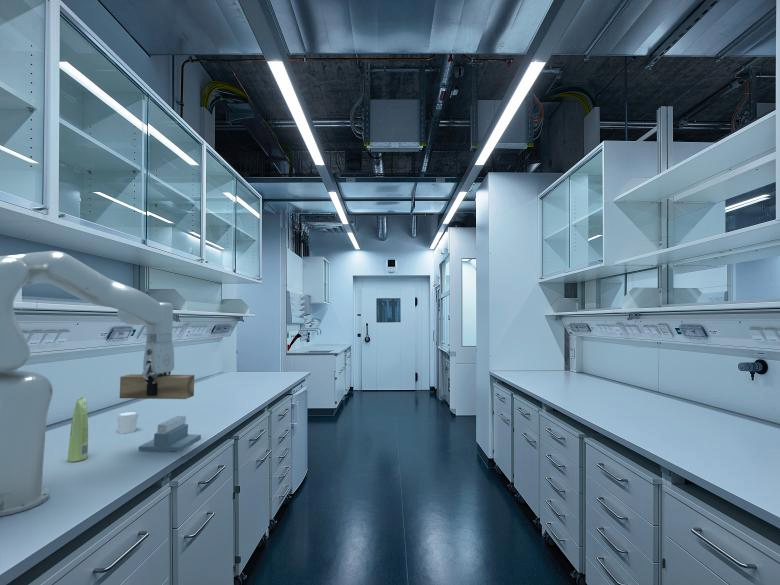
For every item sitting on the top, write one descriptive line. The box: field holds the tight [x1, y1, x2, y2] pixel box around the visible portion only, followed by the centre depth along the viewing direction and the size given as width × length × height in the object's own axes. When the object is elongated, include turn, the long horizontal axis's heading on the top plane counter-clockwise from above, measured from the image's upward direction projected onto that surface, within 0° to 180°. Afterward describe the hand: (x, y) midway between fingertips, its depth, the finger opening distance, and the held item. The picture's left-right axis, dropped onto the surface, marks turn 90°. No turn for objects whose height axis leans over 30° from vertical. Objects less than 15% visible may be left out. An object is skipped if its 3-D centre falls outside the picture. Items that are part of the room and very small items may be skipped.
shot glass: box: [116, 411, 139, 435], centre depth 151 cm, size 7×7×7 cm
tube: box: [67, 395, 89, 463], centre depth 122 cm, size 6×5×20 cm
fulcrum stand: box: [138, 415, 202, 453], centre depth 136 cm, size 14×14×8 cm
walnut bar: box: [119, 373, 195, 400], centre depth 128 cm, size 5×22×7 cm, turn 88°
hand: (157, 393), depth 127 cm, fingers closed on walnut bar, 4 cm apart
